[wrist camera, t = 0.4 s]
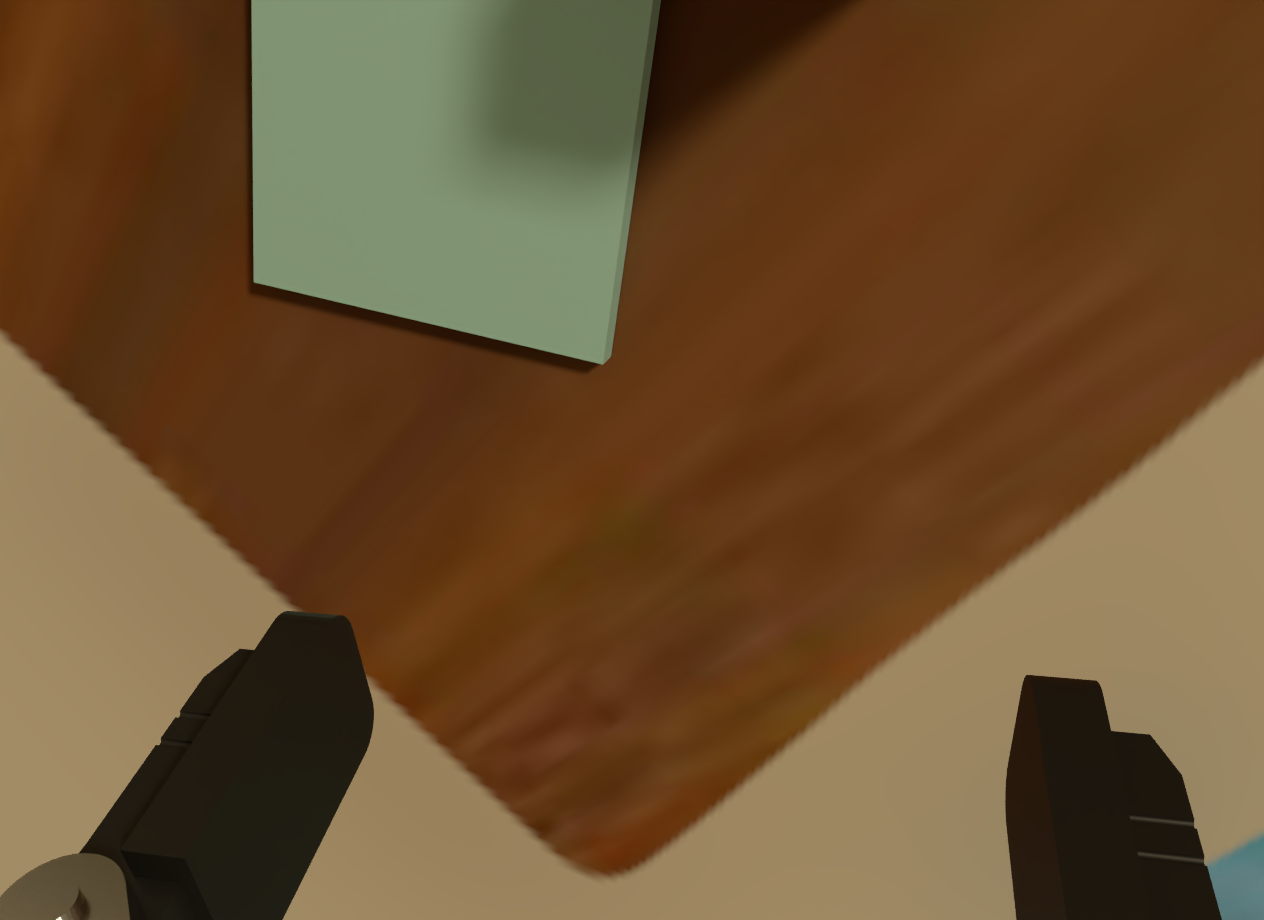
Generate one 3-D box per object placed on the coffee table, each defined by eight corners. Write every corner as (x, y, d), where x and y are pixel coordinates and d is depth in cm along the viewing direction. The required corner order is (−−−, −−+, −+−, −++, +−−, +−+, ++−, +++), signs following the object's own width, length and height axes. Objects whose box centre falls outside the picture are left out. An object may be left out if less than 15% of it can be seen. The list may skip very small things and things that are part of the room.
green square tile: (268, -130, 37) (250, -133, 36) (670, -67, 34) (662, -69, 33) (268, 276, 43) (253, 282, 42) (610, 356, 40) (602, 364, 39)
